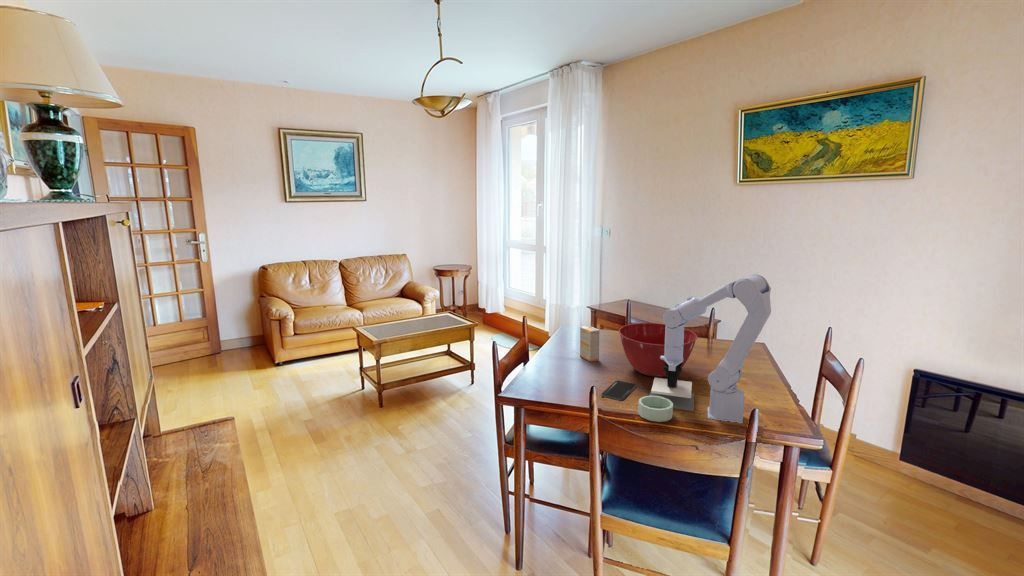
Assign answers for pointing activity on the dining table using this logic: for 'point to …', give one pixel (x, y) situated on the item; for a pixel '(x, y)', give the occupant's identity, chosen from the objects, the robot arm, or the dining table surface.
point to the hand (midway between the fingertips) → (672, 384)
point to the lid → (672, 388)
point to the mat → (679, 401)
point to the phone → (619, 390)
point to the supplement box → (589, 343)
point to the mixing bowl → (651, 347)
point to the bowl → (655, 408)
